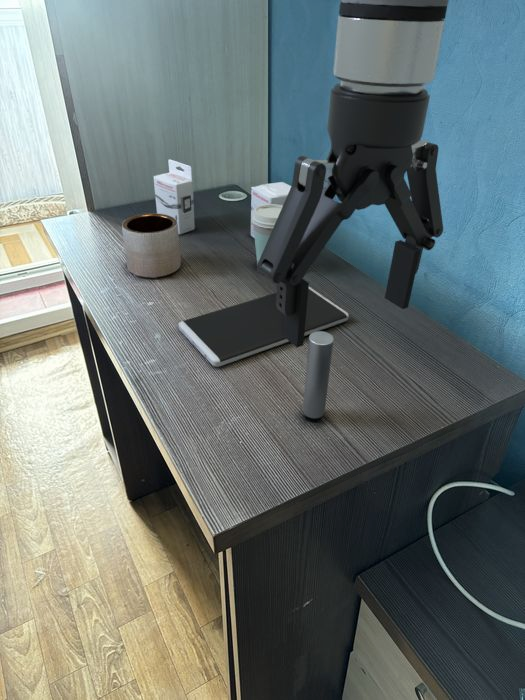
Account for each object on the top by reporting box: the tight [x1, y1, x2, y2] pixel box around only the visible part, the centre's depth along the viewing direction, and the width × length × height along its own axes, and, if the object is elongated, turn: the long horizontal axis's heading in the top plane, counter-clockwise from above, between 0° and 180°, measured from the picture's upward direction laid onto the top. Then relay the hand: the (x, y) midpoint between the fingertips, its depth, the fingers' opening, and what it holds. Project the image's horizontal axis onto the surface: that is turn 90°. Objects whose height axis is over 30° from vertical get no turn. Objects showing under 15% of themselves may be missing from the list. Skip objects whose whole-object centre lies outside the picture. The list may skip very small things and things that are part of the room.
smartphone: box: [178, 286, 350, 368], centre depth 89 cm, size 13×27×2 cm, turn 123°
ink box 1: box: [153, 158, 196, 235], centre depth 120 cm, size 9×5×15 cm, turn 47°
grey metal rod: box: [302, 330, 335, 423], centre depth 67 cm, size 3×3×13 cm
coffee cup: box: [250, 204, 283, 266], centre depth 105 cm, size 9×8×12 cm
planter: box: [121, 212, 182, 279], centre depth 104 cm, size 11×11×10 cm
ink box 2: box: [250, 181, 292, 239], centre depth 116 cm, size 8×8×12 cm
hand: (346, 320), depth 52 cm, fingers open, 13 cm apart
